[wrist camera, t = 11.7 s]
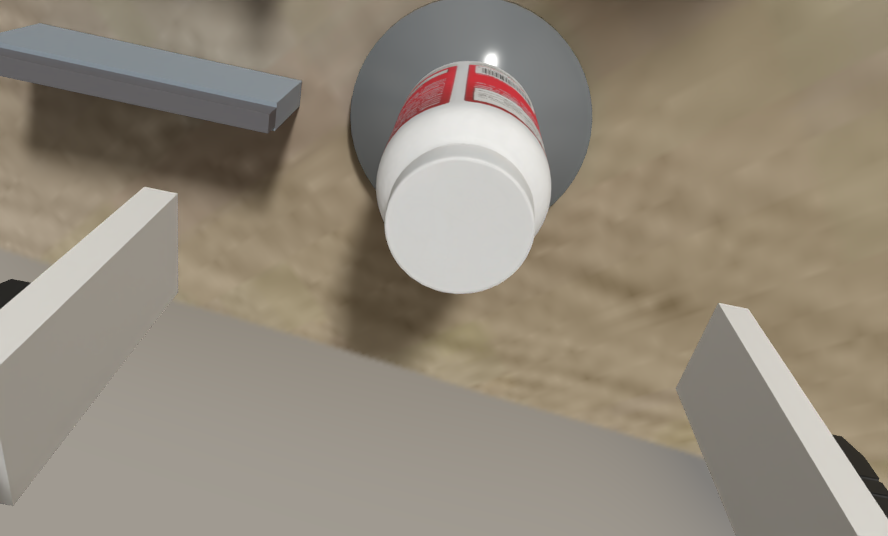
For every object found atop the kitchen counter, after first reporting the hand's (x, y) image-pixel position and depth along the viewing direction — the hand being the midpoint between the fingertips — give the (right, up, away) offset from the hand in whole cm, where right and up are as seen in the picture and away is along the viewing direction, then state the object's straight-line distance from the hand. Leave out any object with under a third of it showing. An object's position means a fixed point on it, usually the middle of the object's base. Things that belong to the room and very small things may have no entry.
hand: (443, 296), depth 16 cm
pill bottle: (+1, +7, +14) cm, 16 cm away
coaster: (+1, +7, +14) cm, 16 cm away
